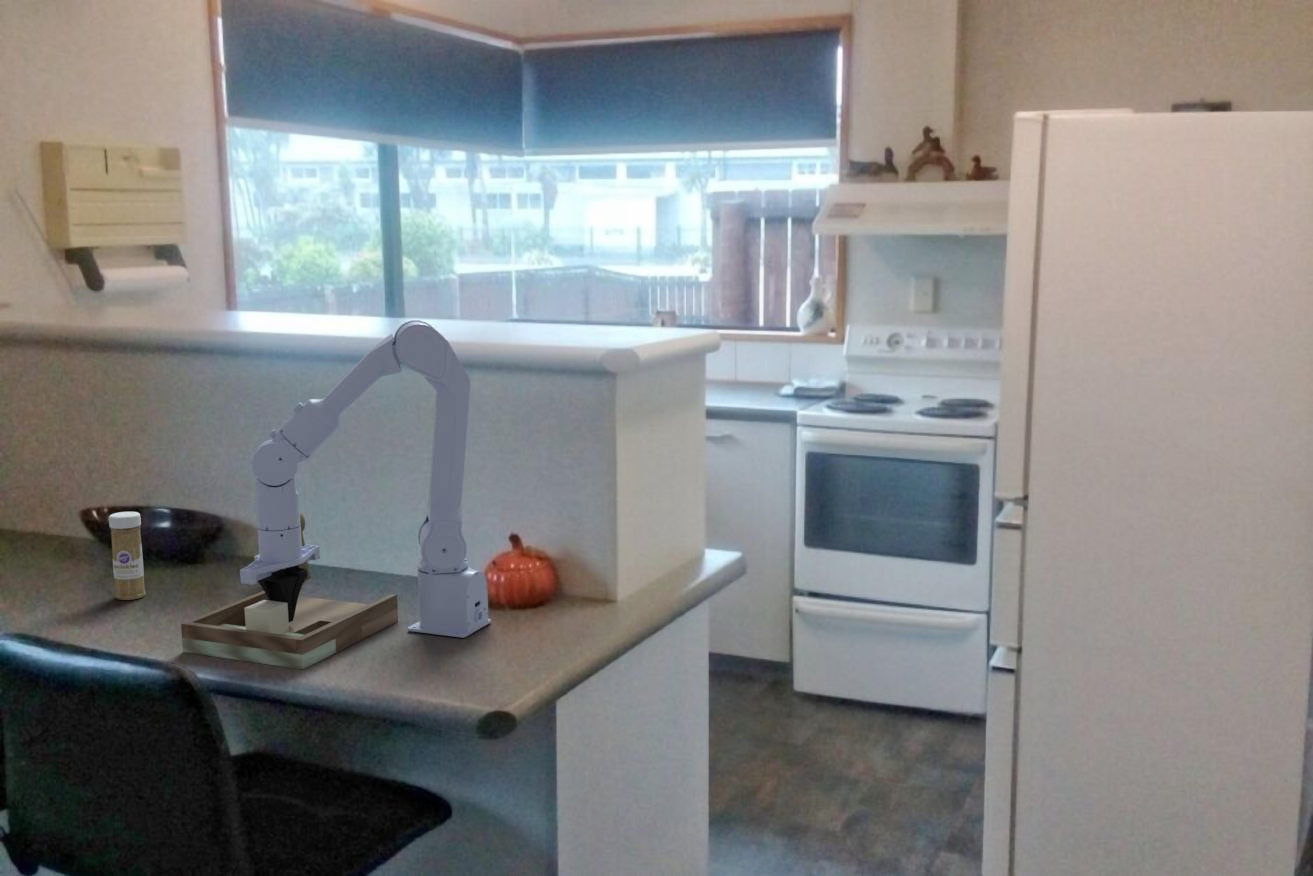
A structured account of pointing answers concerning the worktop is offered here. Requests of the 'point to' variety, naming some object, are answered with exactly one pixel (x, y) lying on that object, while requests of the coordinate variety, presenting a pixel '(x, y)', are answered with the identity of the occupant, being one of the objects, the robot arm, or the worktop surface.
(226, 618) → the box
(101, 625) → the worktop surface
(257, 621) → the cream cube
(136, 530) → the sprinkles bottle
